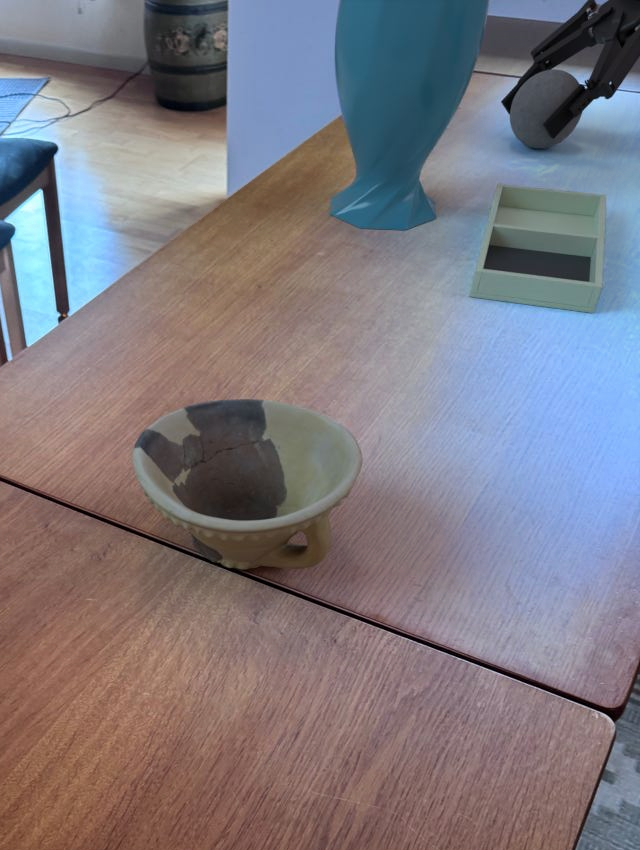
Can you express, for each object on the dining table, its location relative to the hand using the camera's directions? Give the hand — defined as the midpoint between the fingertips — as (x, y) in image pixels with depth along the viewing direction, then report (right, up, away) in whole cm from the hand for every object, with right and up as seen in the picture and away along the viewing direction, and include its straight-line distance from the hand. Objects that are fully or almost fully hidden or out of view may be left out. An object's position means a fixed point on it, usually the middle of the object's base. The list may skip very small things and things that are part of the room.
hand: (526, 120), depth 133 cm
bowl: (-47, -68, -56) cm, 100 cm away
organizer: (-7, -29, -21) cm, 37 cm away
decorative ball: (+3, -2, +4) cm, 5 cm away
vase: (-24, -18, -10) cm, 32 cm away
